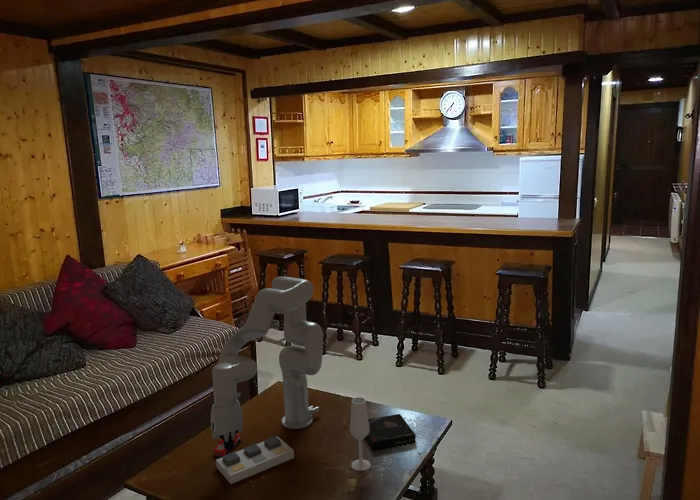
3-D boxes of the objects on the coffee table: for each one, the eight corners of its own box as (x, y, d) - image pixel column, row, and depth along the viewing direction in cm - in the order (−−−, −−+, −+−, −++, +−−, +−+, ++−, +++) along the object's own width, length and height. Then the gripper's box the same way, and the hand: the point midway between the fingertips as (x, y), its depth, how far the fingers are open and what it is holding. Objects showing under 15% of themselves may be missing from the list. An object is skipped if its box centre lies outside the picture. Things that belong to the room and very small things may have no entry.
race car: (223, 459, 191) (222, 449, 191) (211, 457, 193) (210, 447, 193) (244, 440, 203) (243, 431, 203) (231, 438, 205) (231, 428, 205)
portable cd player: (399, 422, 213) (399, 413, 212) (415, 444, 197) (415, 434, 196) (359, 429, 209) (359, 419, 208) (372, 452, 193) (372, 442, 192)
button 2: (275, 443, 197) (275, 436, 197) (281, 448, 194) (280, 441, 193) (264, 447, 195) (264, 440, 194) (270, 453, 191) (269, 445, 191)
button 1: (235, 459, 188) (234, 451, 188) (240, 465, 185) (239, 457, 184) (223, 464, 186) (222, 456, 185) (228, 469, 182) (227, 461, 182)
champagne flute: (357, 472, 180) (354, 406, 176) (347, 462, 186) (345, 398, 182) (374, 466, 183) (372, 401, 179) (364, 457, 189) (362, 394, 185)
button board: (277, 443, 200) (277, 435, 199) (293, 457, 190) (293, 449, 190) (216, 467, 186) (216, 459, 186) (230, 484, 177) (230, 475, 176)
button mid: (255, 451, 193) (255, 443, 192) (261, 456, 189) (260, 449, 189) (244, 455, 190) (243, 448, 190) (250, 461, 187) (249, 453, 186)
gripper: (241, 390, 188) (244, 438, 191) (200, 402, 179) (204, 452, 182) (251, 397, 182) (254, 447, 185) (208, 410, 173) (212, 462, 176)
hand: (229, 449), depth 184 cm, fingers closed
